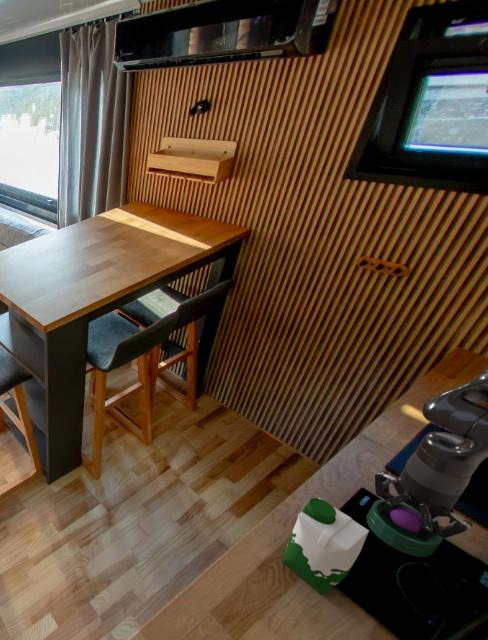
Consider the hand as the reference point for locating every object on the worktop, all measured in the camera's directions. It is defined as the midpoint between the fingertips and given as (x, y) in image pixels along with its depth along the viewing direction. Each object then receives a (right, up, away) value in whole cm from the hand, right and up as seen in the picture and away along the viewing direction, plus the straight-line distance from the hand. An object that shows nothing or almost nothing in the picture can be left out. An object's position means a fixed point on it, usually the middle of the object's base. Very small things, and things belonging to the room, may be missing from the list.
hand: (404, 524), depth 82 cm
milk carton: (-23, -10, -1) cm, 25 cm away
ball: (0, +2, -1) cm, 2 cm away
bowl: (+1, -4, +2) cm, 4 cm away
